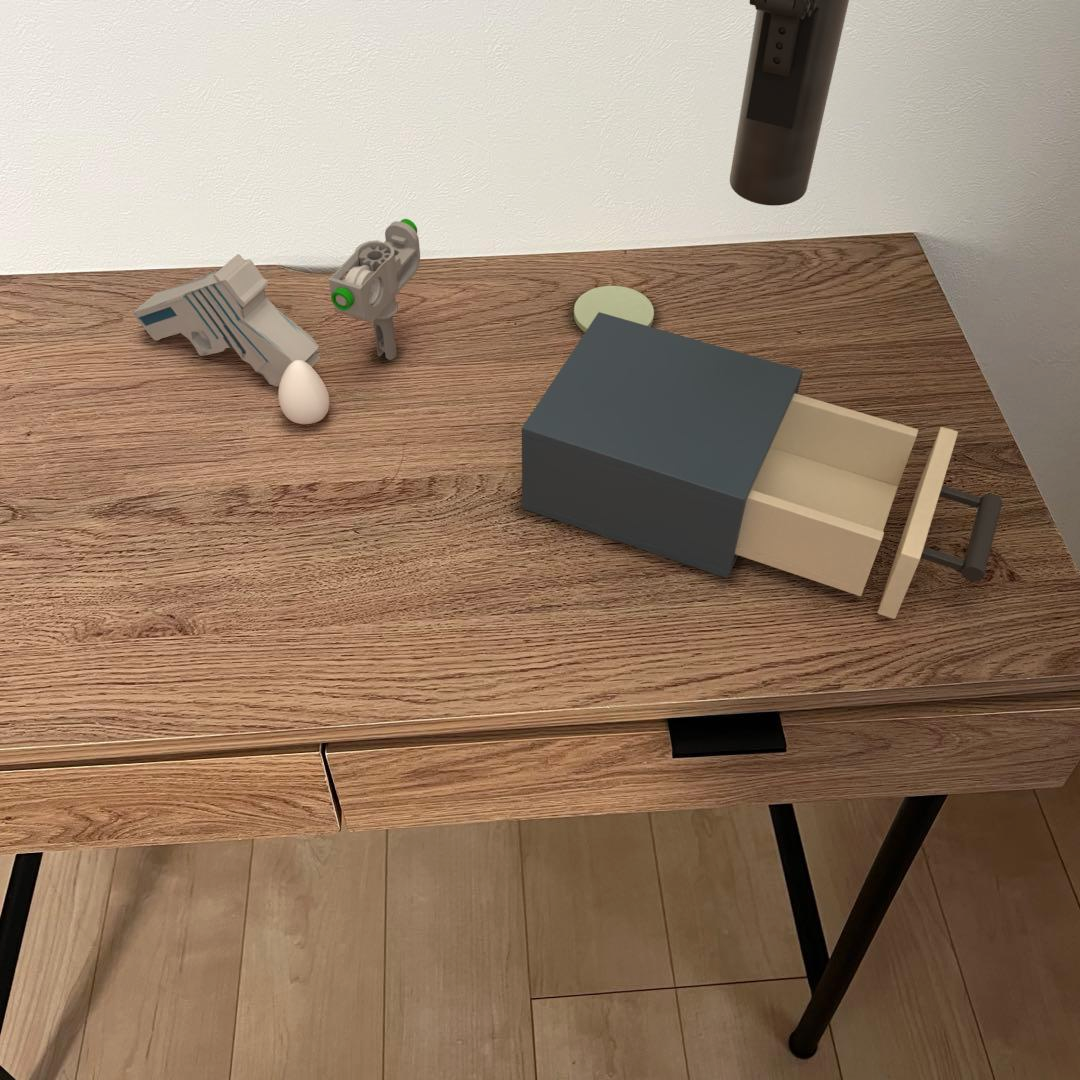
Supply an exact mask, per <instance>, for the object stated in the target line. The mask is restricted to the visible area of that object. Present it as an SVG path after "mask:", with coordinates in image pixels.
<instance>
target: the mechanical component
mask: <svg viewBox="0 0 1080 1080" xmlns="http://www.w3.org/2000/svg"><path fill="white" fill-rule="evenodd" d="M384 238H385V241H380V240H368V241H366V242H362V243H361V244H359V245H358V246H357V247H356V248H355V250H354V252H353V254H352V255H350V257H348V259H346V261H345V262H343V264H342V265H341V266H340V267H339V268H338V269H337V270H336V271H335V272H334V273H333V274H332V275H331V277H329V278H328V283H329V290H330V299H331V303H332V304H333V305H334V310H335V312H337V313H338V314H340V315H345V316H348V317H351V318H354V319H357V320H361V321H364V322H367V323H373V330H374V338H375V346H376V353H377V357H381V356H382V355H383V354H385V355H384V356H385V359H387V360H388V361H392V360H394V359H395V358H396V357H397V356H398V352H397V351H398V350H397V342H396V334H395V326H394V325H395V324H394V316H395V315H396V314H397V313H398V311H399V304H398V302H397V299H396V296H397V295H398V294H399V293H400V292H401V291H402V289H403V288H404V287H405V286H406V285H407V284H408V283H409V282H410V280H411V279H412V278H413V277H414V276H415V274H416V273H417V271H418V269H419V266H420V263H421V249H420V239H419V235H418V227H417V225H416V224H415V222H414V221H412V220H411V219H409V218H402V219H401V220H400V221H398V220H397V221H396V220H395V221H393V222H391V224H389V225H388V226H387V228H386V229H385V232H384ZM347 272H348V273H347ZM346 273H347V274H346ZM344 277H345V278H344Z"/></svg>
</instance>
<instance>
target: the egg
mask: <svg viewBox="0 0 1080 1080" xmlns="http://www.w3.org/2000/svg"><path fill="white" fill-rule="evenodd" d="M277 394H278V395H277V396H278V403H279V407H280V409H281V411H282V413H283V415H284V416H285V417H286V418H287V419H288V420H289V421H291V422H293V423H295V424H299V425H310V424H315V423H319V422H320V421H322V420H323V419H324V418H325V417H326V415H328V412H329V410H330V406H331V405H330V404H331V403H330V394H329V391H328V389H327V387H326V384H325V382H324V381H323V380H322V378H321V376H320V375H319V373H318V372H317V371H316V370H315V368H313V366H312V367H311V366H310V365H309V364H308V363H306V362H304V361H302V360H295V361H293V362H292V363H291V364H290V365H289V366H288V367H287V369H286V370H285V372H284V374H283V376H282V379H281V381H280V385H279V386H278V392H277Z"/></svg>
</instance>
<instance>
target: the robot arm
mask: <svg viewBox="0 0 1080 1080" xmlns="http://www.w3.org/2000/svg"><path fill="white" fill-rule="evenodd" d="M816 3H817V0H749V5H750V6H754V8H755V10H756V11H757V10H760V11H764V14H763V20H762V26H761V32H760V38H759V44H758V50H757V56H756V62H755V68H754V74H753V80H752V86H751V92H750V98H749V104H748V110H747V116H746V118H747V119H752V120H756V121H760V122H764V123H768V124H773V125H777V126H781V127H785V128H790V129H792V128H793V127H794V125H795V123H796V119H797V114H798V109H799V104H800V99H801V94H802V89H803V85H804V80H805V75H806V70H807V65H808V60H809V55H810V50H811V45H812V40H813V36H814V31H815V26H816V21H817V16H818V11H819V8H818V7H816Z"/></svg>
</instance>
